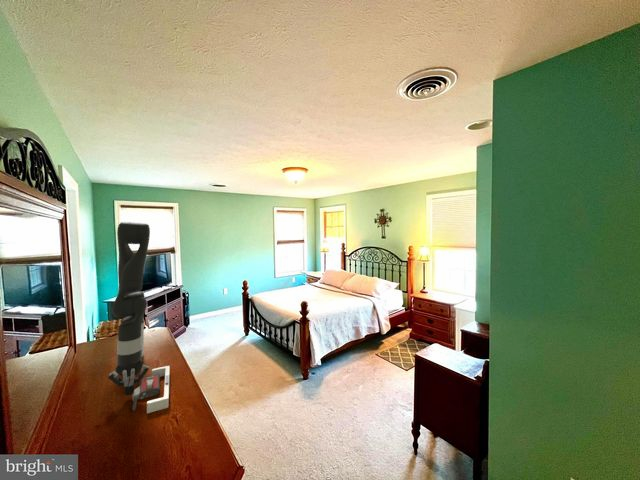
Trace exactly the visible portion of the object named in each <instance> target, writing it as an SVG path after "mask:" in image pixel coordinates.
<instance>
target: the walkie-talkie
mask: <svg viewBox="0 0 640 480" xmlns="http://www.w3.org/2000/svg"><path fill="white" fill-rule="evenodd" d="M160 378H161V377H160V376H159V375H152V374H151V375H149V376H145V377H144V376H143V377H142V379H141V380H140V381H139V386H138V387H137V388H134V392H133V393H132V395H131V397H132V399H131V400H132V401H133V402H132V409H131V410H132V411H136V409H137V403H138V400H143V399H146V398H150V397H155V396H157V395H160V391H161V385H160Z"/></svg>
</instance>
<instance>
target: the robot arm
mask: <svg viewBox="0 0 640 480" xmlns="http://www.w3.org/2000/svg"><path fill="white" fill-rule="evenodd" d="M150 230H151V228H150V225H149V224H148V223H144V222H143V223H142V222H134V221H133V222H132V221H130V222H129V221H122V222H120V223H119V224H118V226H117V230H116V231H117V233H116V234H117V236H116V237H117V245H118V265H117V267H118V268H117V269H118V270H117V274H118V275H117V276H118V294H117V295H116V298H115V300H114V302H113V304H112V306H111V314H112V315H113V317H115V318H122V319H121V321H120V324H119V326H118V329H117V335H118V336H117V347H116V366H115V367H116V368H115V369H114V371H112V372H110V373H109V375H108V378H107V379H109V380H110V381H111V382H113V384H115V385H116V386H118V387H119V388H120V387H124V395H125V396H126V397H128V396H133V393H134V390H135V384H138V383H140V381H141V380H142V379H143V378H144V376H145V375H146V374H147V373H148V371H149V369H150V365H149V364H147V365H145V364H144V362H143V360H142V359H143V357H144V354H145V353H144V350H145V349H144V343H145V342H144V341H145V340H144V339H145V337H144V336H145V335H144V332H145V328H144V327H145V326H144V325H145V321H144V318H145V317H144V316H145V313H146V310H147V306H148V301H147V299H146V298H145V294H144V292H143V291H142V289H143V285H144V284H143V282H144V269H145V264H146V259H147V253H148V250H149V243H150V236H151V235H150V234H151V233H150V232H151V231H150ZM130 245H139V247H138V250H136V252H134V251H133V250H132V249H131V247H130ZM139 371H140V373H139ZM138 373H139V374H138ZM137 374H138V376H137ZM122 378H123V379H122Z"/></svg>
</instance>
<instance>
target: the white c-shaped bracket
mask: <svg viewBox="0 0 640 480" xmlns="http://www.w3.org/2000/svg"><path fill="white" fill-rule="evenodd" d="M170 368H171V367H170V365H165V366H161V367H156V368H152V369H151V371H152V372H151V376H152V375H159V376H160V378H162V377H164V385H163V386H164V387H163V390H164V391H163V397H159V398H155V399H151V400H148V401H147V402H146V414H150V413H154V412H156V411H161V410H165V409H168V408H169V405H170V404H169V398H170V397H169V396H170V375H171V374H170Z"/></svg>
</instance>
